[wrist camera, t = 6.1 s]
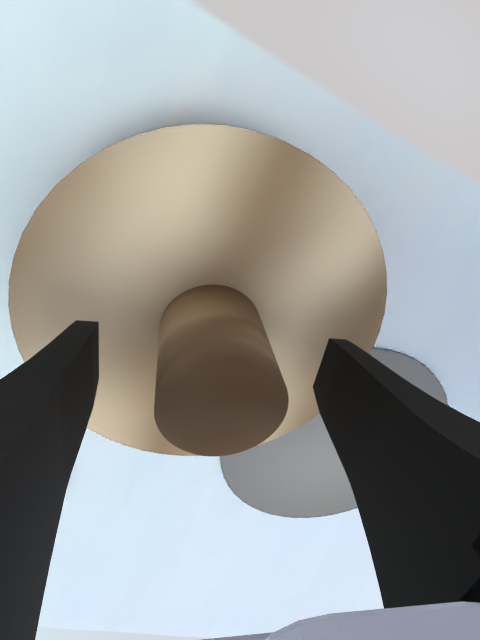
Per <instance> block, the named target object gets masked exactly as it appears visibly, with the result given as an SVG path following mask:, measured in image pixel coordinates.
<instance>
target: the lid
mask: <svg viewBox="0 0 480 640" xmlns="http://www.w3.org/2000/svg"><path fill="white" fill-rule="evenodd" d="M386 295H387V278H386V267H385V261H384V255H383V250H382V247H381V244H380V241H379V238H378V235H377V232H376V229H375V227H374V225H373V223H372V221H371V219H370V217H369V216H368V214H367V212H366V210H365V208H364V207H363V205H362V204H361V203H360V201H359V200H358V199H357V197H356V196H355V194H354V193H353V192H352V190H351V189H350V188H349V187H348V186H347V185H346V184H345V183H344V182H343V181H342V180H341V179H340V178H339V177H338V176H337V175H336V174H335V173H334V172H333V171H332V170H330V169H329V168H328V167H326V166H325V165H323V164H322V163H321V162H319V161H318V160H317V159H315V158H314V157H312V156H311V155H309V154H307V153H306V152H304V151H302V150H300V149H298V148H296V147H294V146H292V145H290V144H288V143H286V142H284V141H282V140H280V139H277V138H274V137H271V136H268V135H265V134H262V133H259V132H257V131H254V130H249V129H244V128H238V127H233V126H227V125H215V124H188V125H179V126H170V127H163V128H159V129H155V130H152V131H148V132H144V133H141V134H137V135H134V136H132V137H129V138H127V139H125V140H122V141H120V142H118V143H115V144H113V145H111V146H109V147H107V148H105V149H104V150H102V151H100V152H99V153H97V154H96V155H94V156H93V157H91V158H89V159H88V160H86V161H85V162H83V163H82V164H80V165H79V166H78V167H77V168H76V169H74V170H73V171H72V172H71V173H70V174H69V175H68V176H66V177H65V178H64V179H63V180H62V181H61V182H60V183H58V184H57V185H56V186H55V187H54V188H53V189H52V191H51V192H50V193H49V194H48V195H47V197H46V198H45V199H44V200H43V202H42V203H41V204H40V205H39V206H38V208H37V209H36V211H35V212H34V214H33V216H32V217H31V219H30V221H29V223H28V224H27V226H26V228H25V229H24V231H23V233H22V236H21V239H20V241H19V244H18V247H17V249H16V252H15V255H14V258H13V263H12V268H11V273H10V279H9V303H8V306H9V313H10V320H11V326H12V331H13V334H14V337H15V340H16V343H17V347H18V350H19V352H20V354H21V356H22V358H23V360H24V362H26V361H27V360H29V359H30V358H31V357H33V356H34V355H35V354H36V353H37V352H39V351H40V350H41V349H42V348H44V347H45V346H46V345H47V344H49V343H50V342H51V341H52V340H53V339H55V338H56V337H57V336H58V335H59V334H60V333H62V332H63V331H64V330H65V329H66V328H67V327H68V326H70V325H71V324H72V323H73V322H75V321H76V320H81V321H95V322H99V381H98V386H97V391H96V396H95V401H94V406H93V410H92V413H91V416H90V419H89V422H88V425H87V428H88V429H90V430H92V431H94V432H96V433H97V434H99V435H101V436H103V437H105V438H108V439H110V440H113V441H115V442H118V443H120V444H123V445H126V446H129V447H133V448H136V449H140V450H144V451H149V452H154V453H160V454H169V455H180V456H226V455H231V454H236V453H240V452H243V451H246V450H248V449H251V448H253V447H255V446H258V445H260V444H263V443H266V442H268V441H271V440H274V439H276V438H278V437H281V436H283V435H285V434H287V433H289V432H291V431H293V430H295V429H296V428H298V427H300V426H301V425H303V424H305V423H306V422H308V421H310V420H311V419H312V418H314V417H315V416H316V415H318V414H319V413H320V412H319V409H318V405H317V402H316V398H315V394H314V390H313V384H314V381H315V378H316V375H317V372H318V369H319V366H320V364H321V361H322V358H323V355H324V352H325V349H326V346H327V343H328V340H329V338H333V339H346V340H348V341H350V342H352V343H353V344H355V345H356V346H358V347H360V348H361V349H362V350H364V351H365V352H367V353H368V354H370V353H371V351H372V349H373V346H374V344H375V341H376V339H377V336H378V334H379V331H380V327H381V324H382V320H383V316H384V311H385V303H386Z"/></svg>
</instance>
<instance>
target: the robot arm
mask: <svg viewBox="0 0 480 640" xmlns="http://www.w3.org/2000/svg"><path fill="white" fill-rule="evenodd" d="M98 381H99V322H95V321H81V320H76V321H75V322H73V323H72V324H71V325H70V326H68V327H67V328H66V329H65V330H64V331H63V332H62V333H60V334H59V335H58V336H57V337H56V338H55V339H53V340H52V341H51V342H50V343H49V344H47V345H46V346H45V347H44V348H42V349H41V350H40V351H39V352H37V353H36V354H35V355H34V356H33V357H31V358H30V359H29V360H27V361H26V362H25V363H23V364H22V365H20V366H19V367H18V368H16V369H15V370H13V371H12V372H11V373H9V374H8V375H6V376H5V377H3V378H2V379H0V640H35V636H36V631H37V626H38V621H39V615H40V610H41V605H42V600H43V595H44V591H45V586H46V581H47V576H48V571H49V566H50V561H51V556H52V552H53V547H54V542H55V538H56V533H57V528H58V524H59V519H60V515H61V511H62V506H63V502H64V497H65V493H66V489H67V486H68V482H69V479H70V475H71V472H72V469H73V466H74V463H75V460H76V457H77V454H78V451H79V449H80V446H81V443H82V440H83V437H84V434H85V431H86V428H87V425H88V422H89V419H90V416H91V413H92V410H93V406H94V401H95V396H96V391H97V386H98ZM313 390H314V394H315V398H316V402H317V405H318V409H319V412H320V415H321V417H322V420H323V422H324V424H325V427H326V429H327V431H328V434H329V436H330V438H331V441H332V443H333V445H334V447H335V450H336V452H337V454H338V456H339V459H340V461H341V463H342V465H343V468H344V470H345V472H346V475H347V477H348V480H349V482H350V485H351V488H352V491H353V494H354V497H355V500H356V503H357V507H358V510H359V513H360V516H361V519H362V523H363V526H364V530H365V533H366V537H367V540H368V544H369V547H370V551H371V555H372V559H373V563H374V567H375V571H376V575H377V579H378V583H379V587H380V592H381V596H382V601H383V606H384V609H376V610H365V611H354V612H343V613H333V614H327V615H322V616H318V617H313V618H308V619H304V620H299V621H297V622H295V623H293V624H290V625H288V626H286V627H284V628H282V629H280V630H278V631H276V632H273V633H263V634H253V635H243V636H234V637H224V638H214V639H204V640H480V422H478V421H476V420H474V419H472V418H470V417H468V416H466V415H464V414H462V413H460V412H458V411H457V410H455V409H453V408H451V407H449V406H448V405H446V404H444V403H442V402H440V401H439V400H437V399H435V398H434V397H432V396H430V395H429V394H427V393H425V392H424V391H422V390H421V389H419V388H418V387H416V386H414V385H413V384H411V383H410V382H408V381H407V380H405V379H404V378H402V377H401V376H399V375H398V374H397V373H395V372H394V371H392V370H391V369H389V368H388V367H387V366H385V365H384V364H382V363H381V362H380V361H378V360H377V359H375V358H374V357H373V356H371V355H370V354H368V353H367V352H365V351H364V350H362V349H361V348H360V347H358V346H356V345H355V344H353V343H352V342H350V341H348V340H346V339H333V338H329V340H328V343H327V346H326V349H325V352H324V355H323V358H322V361H321V364H320V366H319V369H318V372H317V375H316V378H315V381H314V384H313Z"/></svg>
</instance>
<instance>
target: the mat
mask: <svg viewBox="0 0 480 640" xmlns="http://www.w3.org/2000/svg"><path fill="white" fill-rule="evenodd" d="M370 355H371V356H373V357H374V358H375V359H377V360H378V361H380V362H381V363H382V364H384V365H385V366H387V367H388V368H389V369H391V370H392V371H394V372H395V373H397V374H398V375H399V376H401V377H402V378H404V379H405V380H407V381H408V382H410V383H411V384H413V385H414V386H416V387H418V388H419V389H421V390H422V391H424V392H425V393H427V394H429V395H430V396H432V397H434V398H435V399H437V400H439V401H440V402H442V403H444V404H446V405H448V403H447V397H446V394H445V392H444V389H443V387H442V385H441V384H440V383H439V381H438V380H437V378H436V377H435V376H434V375H433V374H432V373H431V372H430V371H429V370H428V369H427V368H426V367H425V366H424V365H422V364H421V363H419V362H418V361H416V360H415V359H413V358H411V357H408V356H406V355H404V354H401V353H397V352H394V351H390V350H384V349H376V348H373V349H372V351H371V353H370ZM220 459H221V468H222V472H223V475H224V478H225V480H226V482H227V484H228V486H229V488H230V489H231V490H232V491H233V493H234V494H235V495H236V496H237V497H238V498H240V499H241V500H242V501H243V502H245V503H246V504H248V505H249V506H251V507H253V508H255V509H258V510H260V511H262V512H266V513H269V514H272V515H277V516H282V517H292V518H310V517H321V516H328V515H333V514H338V513H342V512H346V511H349V510H352V509H355V508H358V507H357V503H356V500H355V497H354V494H353V491H352V488H351V485H350V482H349V480H348V477H347V475H346V472H345V470H344V468H343V465H342V463H341V461H340V459H339V456H338V454H337V452H336V450H335V447H334V445H333V443H332V441H331V438H330V436H329V434H328V431H327V429H326V427H325V424H324V422H323V420H322V417H321V415H320V413H319V414H318V415H316V416H315V417H314V418H312V419H311V420H310V421H308V422H306V423H305V424H303V425H301V426H300V427H298V428H296V429H295V430H293V431H291V432H289V433H287V434H285V435H283V436H281V437H278V438H276V439H274V440H271V441H268V442H266V443H263V444H260V445H258V446H255V447H253V448H251V449H248V450H246V451H243V452H240V453H236V454H231V455H226V456H220Z"/></svg>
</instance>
